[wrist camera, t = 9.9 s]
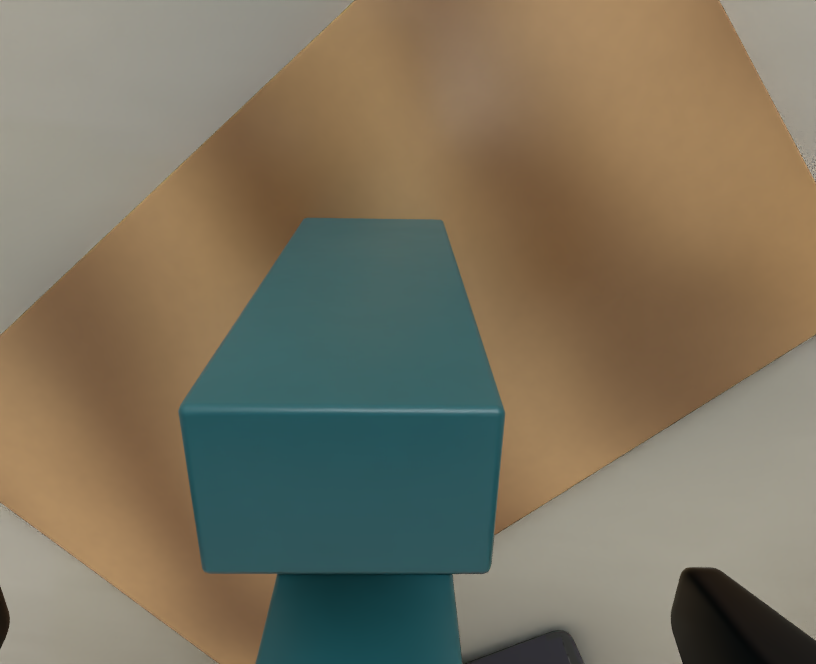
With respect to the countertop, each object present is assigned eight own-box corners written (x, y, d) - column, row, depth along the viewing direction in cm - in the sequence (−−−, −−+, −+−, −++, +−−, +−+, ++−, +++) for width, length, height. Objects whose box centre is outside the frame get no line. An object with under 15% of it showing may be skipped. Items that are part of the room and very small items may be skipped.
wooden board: (588, -216, 10) (599, -232, 10) (859, 289, 14) (877, 297, 14) (-83, 417, 15) (-101, 429, 15) (254, 671, 19) (250, 688, 18)
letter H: (444, 218, 13) (507, 409, 5) (432, 487, 16) (465, 857, 8) (302, 217, 13) (174, 408, 5) (316, 487, 15) (244, 860, 8)
